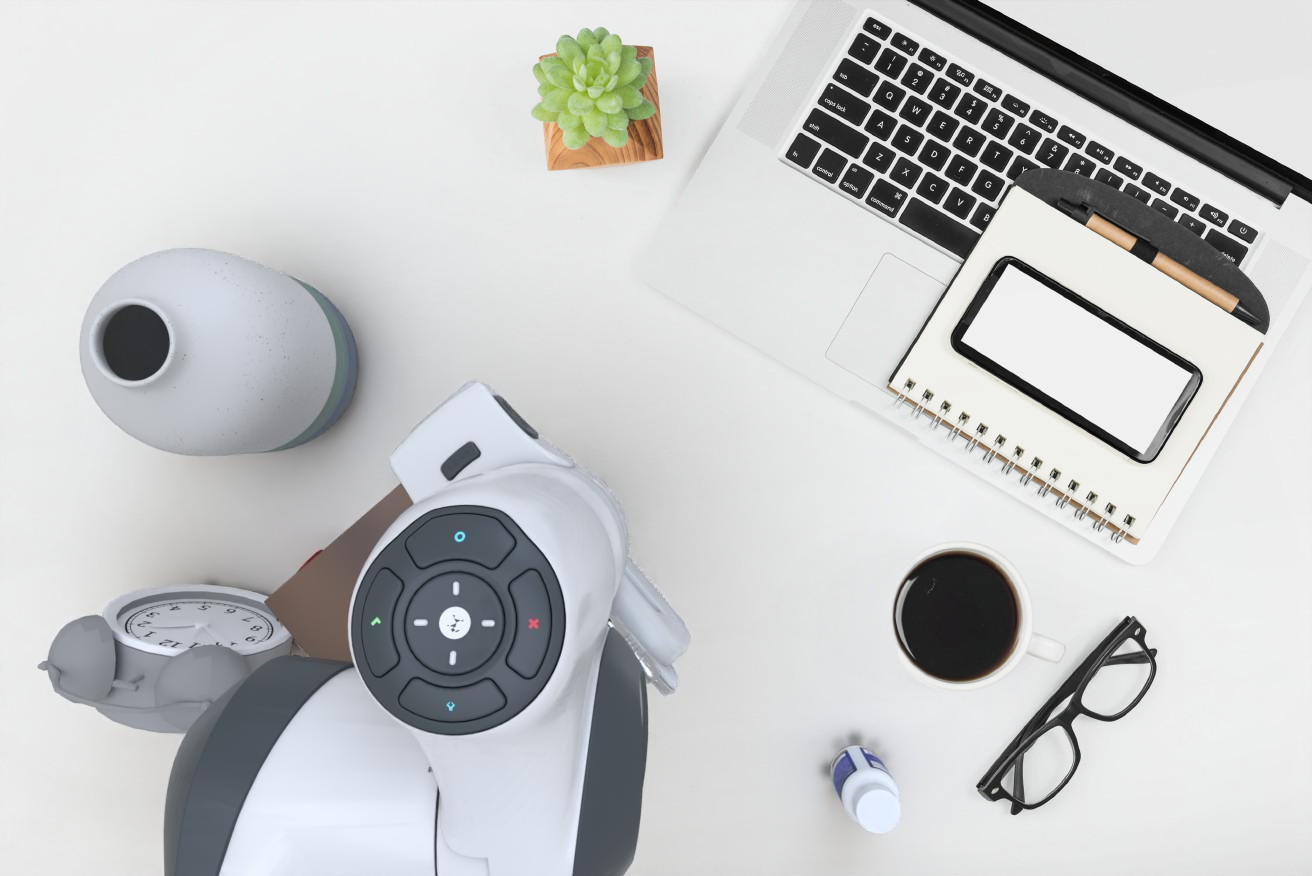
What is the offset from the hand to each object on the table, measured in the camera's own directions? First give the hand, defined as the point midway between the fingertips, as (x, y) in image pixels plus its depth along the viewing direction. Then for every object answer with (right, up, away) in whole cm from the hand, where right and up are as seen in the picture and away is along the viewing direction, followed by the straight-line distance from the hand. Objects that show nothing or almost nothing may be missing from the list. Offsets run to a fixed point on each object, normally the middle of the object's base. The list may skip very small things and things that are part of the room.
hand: (575, 516), depth 56 cm
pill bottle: (+25, -28, +26) cm, 46 cm away
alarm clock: (-36, -14, +28) cm, 47 cm away
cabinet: (-8, -6, +27) cm, 28 cm away
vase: (-31, +12, +27) cm, 43 cm away
